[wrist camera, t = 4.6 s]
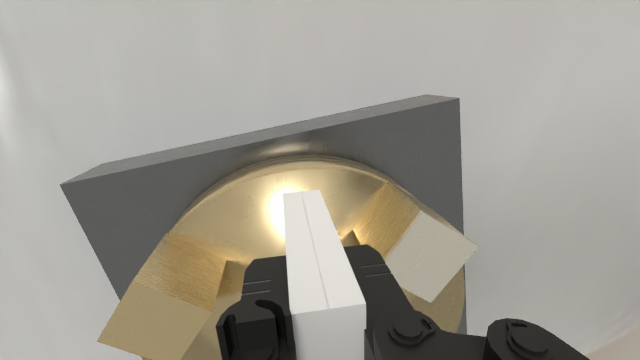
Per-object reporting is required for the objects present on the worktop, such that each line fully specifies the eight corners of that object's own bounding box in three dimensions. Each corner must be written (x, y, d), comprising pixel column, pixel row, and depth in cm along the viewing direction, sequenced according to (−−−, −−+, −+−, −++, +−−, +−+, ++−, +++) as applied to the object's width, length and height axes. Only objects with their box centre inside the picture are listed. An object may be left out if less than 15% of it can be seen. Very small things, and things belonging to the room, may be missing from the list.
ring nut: (104, 195, 16) (-51, 301, 8) (429, 123, 17) (550, 158, 10) (210, 420, 22) (176, 598, 14) (444, 355, 23) (526, 488, 16)
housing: (101, 164, 19) (57, 185, 15) (426, 94, 21) (461, 98, 17) (201, 381, 26) (187, 435, 22) (441, 316, 28) (468, 356, 24)
